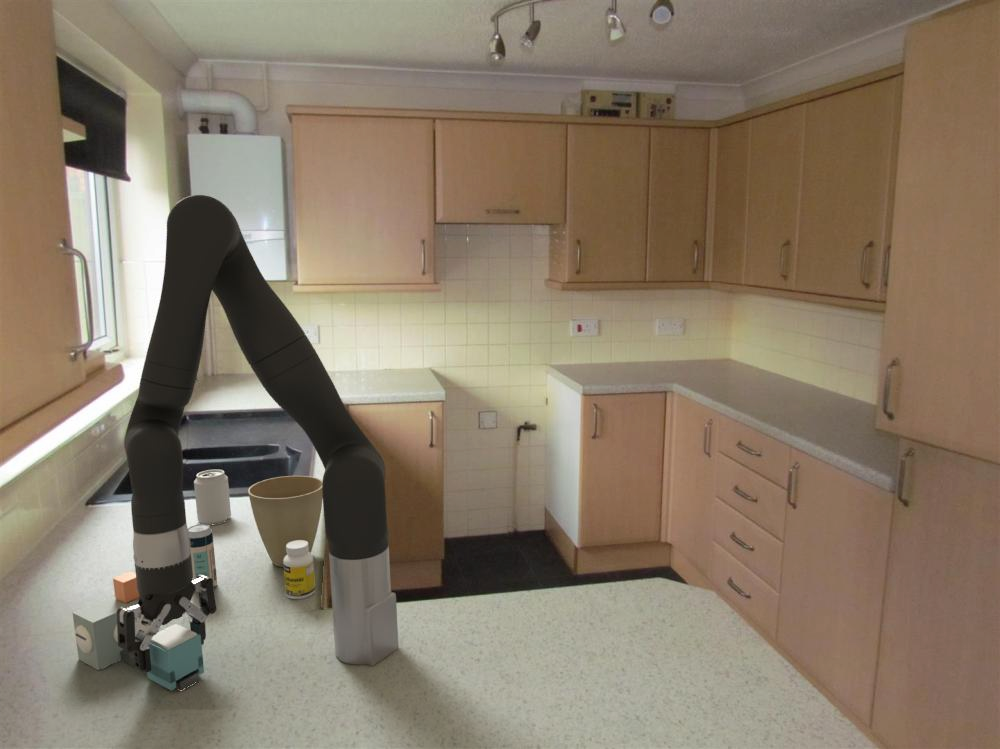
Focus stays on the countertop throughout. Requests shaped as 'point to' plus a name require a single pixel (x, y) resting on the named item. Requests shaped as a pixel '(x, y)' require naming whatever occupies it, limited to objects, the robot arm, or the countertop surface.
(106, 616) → the cabinet
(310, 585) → the supplement bottle
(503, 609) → the countertop surface
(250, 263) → the robot arm
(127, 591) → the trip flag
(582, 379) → the countertop surface
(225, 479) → the can
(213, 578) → the beer can
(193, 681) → the rail
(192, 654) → the box
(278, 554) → the plant pot
